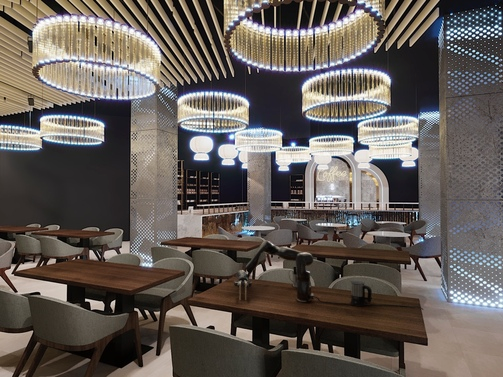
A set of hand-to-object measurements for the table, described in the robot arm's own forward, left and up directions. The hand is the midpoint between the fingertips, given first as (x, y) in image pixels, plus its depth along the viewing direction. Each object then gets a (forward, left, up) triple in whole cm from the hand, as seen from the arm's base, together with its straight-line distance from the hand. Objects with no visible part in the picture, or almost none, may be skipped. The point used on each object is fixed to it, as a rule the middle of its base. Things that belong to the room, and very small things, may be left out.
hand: (242, 286), depth 238 cm
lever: (-2, +2, +1) cm, 3 cm away
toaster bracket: (-4, +6, -8) cm, 11 cm away
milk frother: (-75, -36, -8) cm, 84 cm away
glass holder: (-19, -49, -8) cm, 53 cm away
